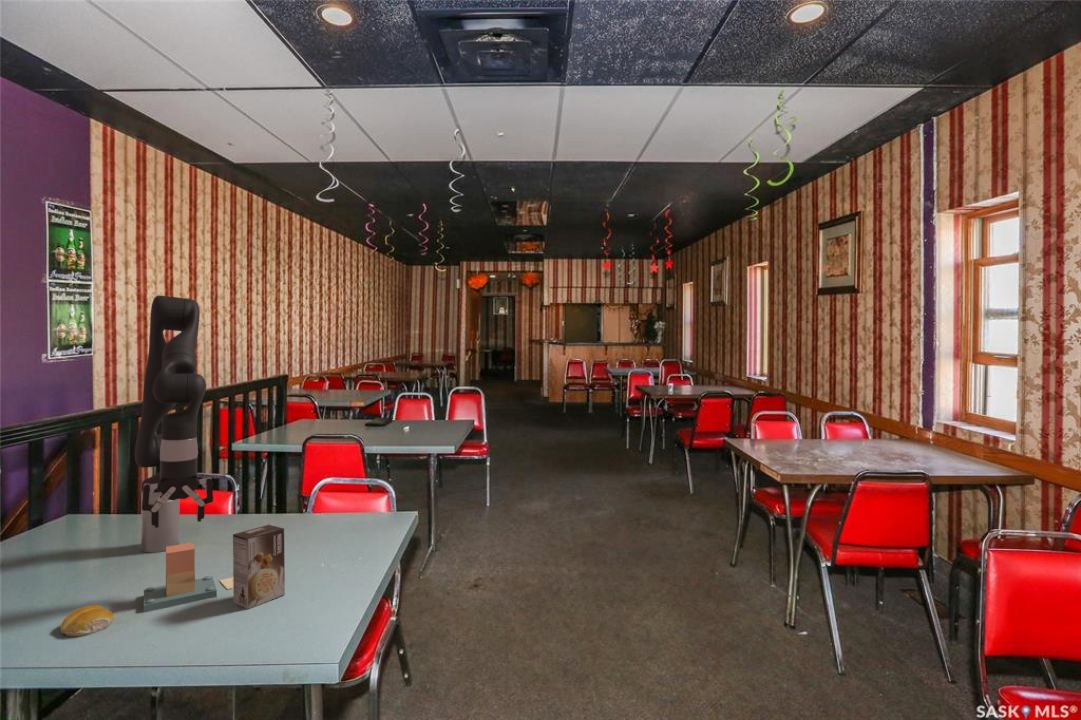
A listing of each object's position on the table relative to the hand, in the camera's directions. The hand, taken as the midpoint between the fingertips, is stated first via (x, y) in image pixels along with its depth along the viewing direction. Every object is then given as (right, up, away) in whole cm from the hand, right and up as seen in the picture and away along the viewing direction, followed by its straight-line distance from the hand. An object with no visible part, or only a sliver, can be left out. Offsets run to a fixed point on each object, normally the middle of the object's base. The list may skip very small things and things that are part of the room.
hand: (178, 523), depth 133 cm
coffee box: (+21, -17, -3) cm, 27 cm away
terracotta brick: (+2, -10, -2) cm, 10 cm away
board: (+2, -16, -2) cm, 17 cm away
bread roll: (-8, -17, -17) cm, 25 cm away
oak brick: (+2, -15, -2) cm, 15 cm away
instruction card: (+12, -16, +7) cm, 22 cm away
